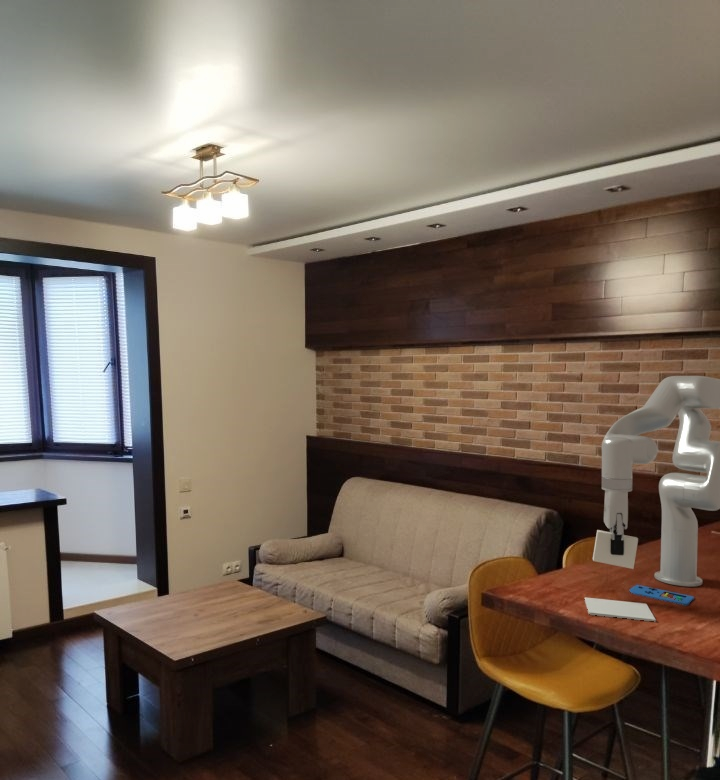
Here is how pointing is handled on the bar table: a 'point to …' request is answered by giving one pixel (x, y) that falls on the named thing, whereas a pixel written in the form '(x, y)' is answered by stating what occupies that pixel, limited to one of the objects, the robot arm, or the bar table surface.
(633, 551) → the ceramic tile
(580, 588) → the bar table surface
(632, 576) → the bar table surface
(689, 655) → the bar table surface
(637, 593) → the handheld gaming device
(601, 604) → the rubber mat
